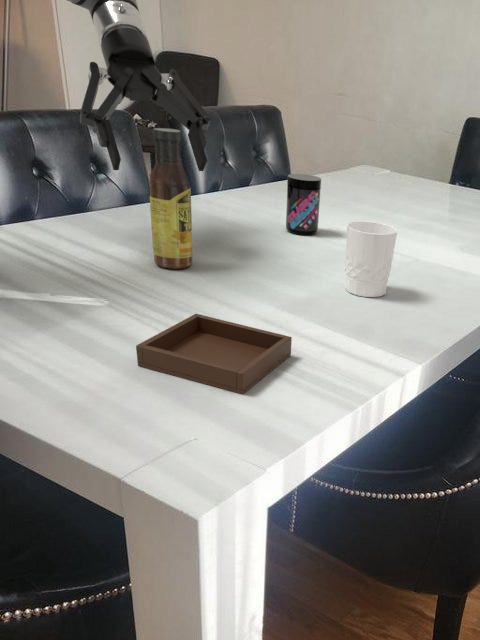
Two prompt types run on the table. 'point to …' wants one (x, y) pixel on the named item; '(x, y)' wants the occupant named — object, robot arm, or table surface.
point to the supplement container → (303, 204)
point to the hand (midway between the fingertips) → (161, 165)
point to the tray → (215, 352)
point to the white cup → (369, 257)
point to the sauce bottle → (170, 203)
